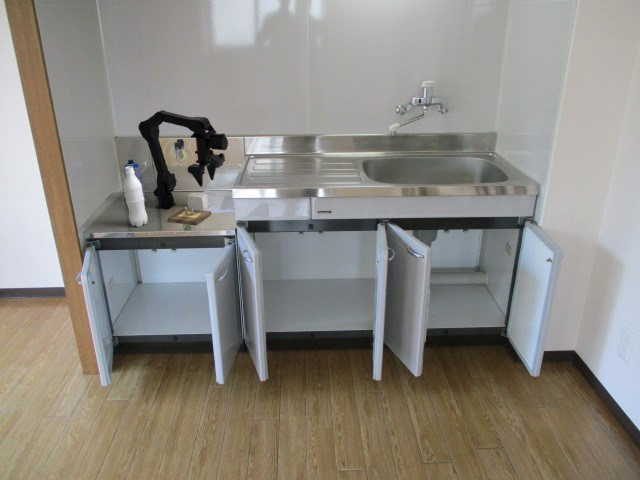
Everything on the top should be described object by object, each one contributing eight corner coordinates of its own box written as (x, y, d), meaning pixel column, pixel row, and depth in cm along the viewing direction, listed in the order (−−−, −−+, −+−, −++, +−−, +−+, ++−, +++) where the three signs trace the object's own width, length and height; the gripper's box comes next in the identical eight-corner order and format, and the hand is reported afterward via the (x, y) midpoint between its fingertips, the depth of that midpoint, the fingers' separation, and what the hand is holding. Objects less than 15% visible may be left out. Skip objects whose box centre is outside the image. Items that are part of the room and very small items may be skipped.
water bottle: (134, 221, 215) (123, 164, 204) (151, 220, 215) (140, 164, 204) (128, 227, 209) (116, 170, 198) (145, 227, 208) (134, 169, 198)
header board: (168, 221, 214) (166, 210, 212) (183, 211, 224) (182, 200, 222) (197, 225, 210) (195, 214, 208) (211, 214, 220) (210, 203, 218)
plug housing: (188, 208, 227) (186, 195, 225) (193, 204, 231) (191, 192, 229) (203, 210, 225) (202, 197, 223) (208, 206, 229) (207, 194, 226)
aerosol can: (145, 197, 241) (138, 156, 233) (147, 202, 235) (140, 161, 226) (128, 200, 239) (120, 159, 230) (130, 205, 232) (121, 163, 224)
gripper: (209, 156, 202) (212, 192, 209) (231, 144, 218) (233, 178, 225) (185, 153, 205) (188, 189, 212) (208, 142, 221) (211, 175, 228)
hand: (206, 183), depth 219 cm, fingers open, 9 cm apart
